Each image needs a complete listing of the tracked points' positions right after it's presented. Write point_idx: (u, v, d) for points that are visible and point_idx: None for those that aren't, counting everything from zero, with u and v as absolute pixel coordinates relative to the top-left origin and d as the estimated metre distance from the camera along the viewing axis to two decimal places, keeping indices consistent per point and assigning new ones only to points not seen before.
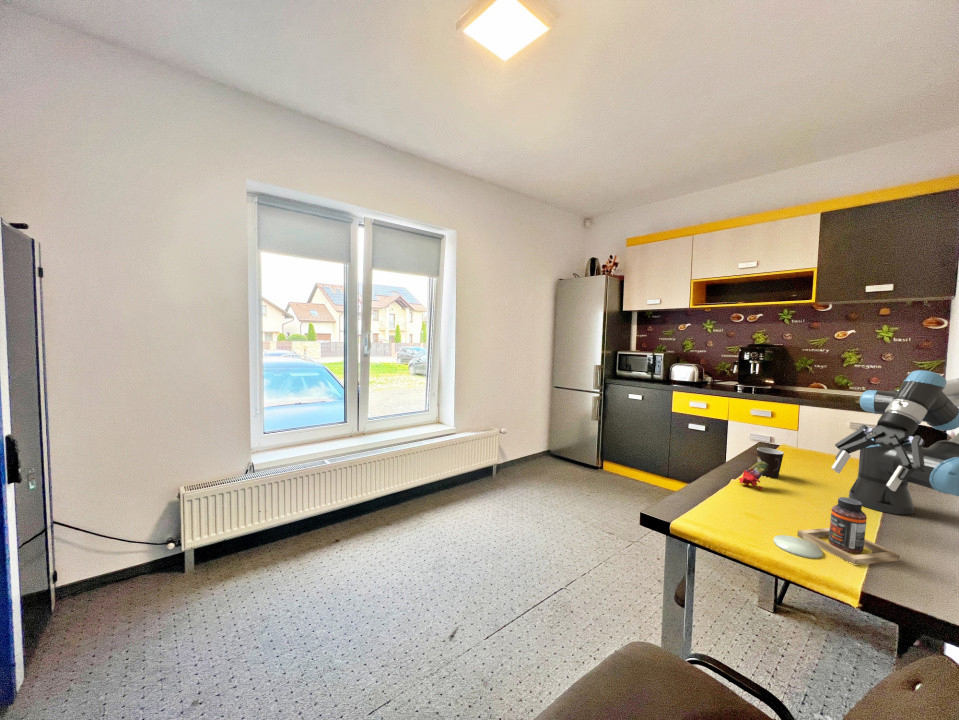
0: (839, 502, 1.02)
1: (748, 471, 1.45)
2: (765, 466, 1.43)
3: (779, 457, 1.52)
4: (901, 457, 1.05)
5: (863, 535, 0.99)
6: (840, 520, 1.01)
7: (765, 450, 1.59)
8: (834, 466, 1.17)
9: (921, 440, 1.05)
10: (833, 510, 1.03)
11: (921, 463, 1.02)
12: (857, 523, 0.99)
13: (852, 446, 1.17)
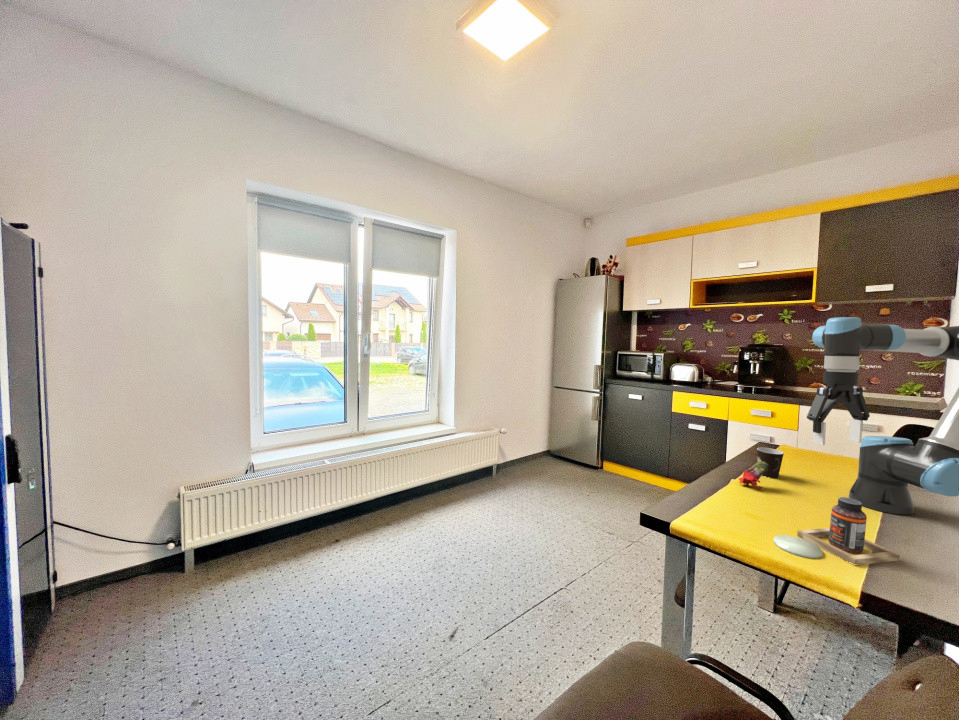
0: (839, 502, 1.02)
1: (748, 471, 1.45)
2: (765, 466, 1.43)
3: (779, 457, 1.52)
4: None
5: (863, 535, 0.99)
6: (840, 520, 1.01)
7: (765, 450, 1.59)
8: None
9: (820, 390, 1.12)
10: (833, 510, 1.03)
11: (811, 413, 1.12)
12: (857, 523, 0.99)
13: (849, 412, 1.16)
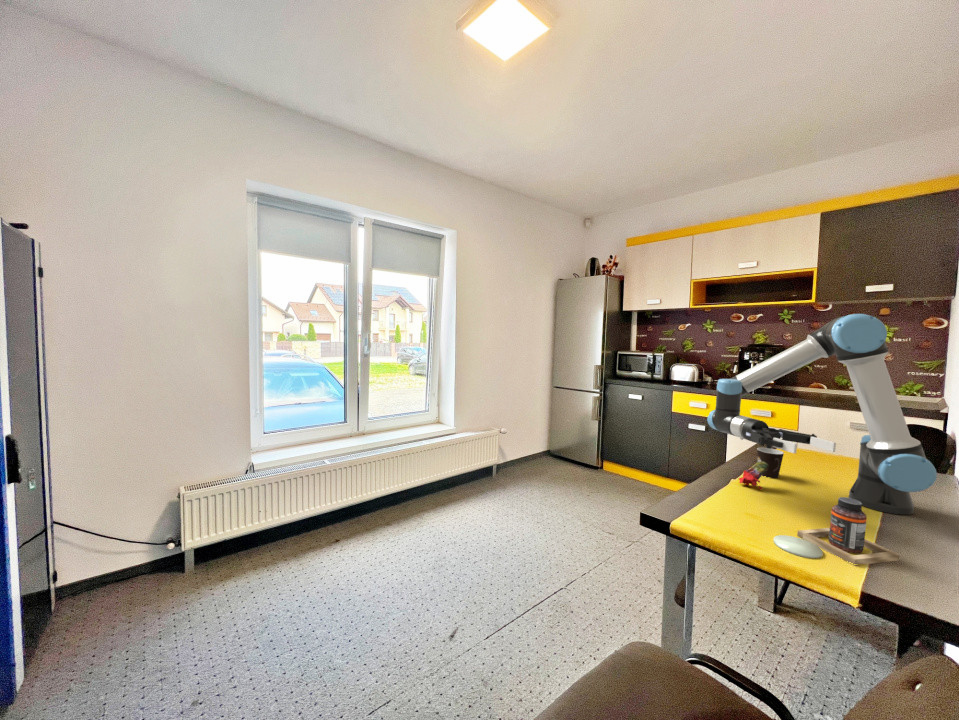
0: (839, 502, 1.02)
1: (748, 471, 1.45)
2: (765, 466, 1.43)
3: (779, 457, 1.52)
4: None
5: (863, 535, 0.99)
6: (840, 520, 1.01)
7: (765, 450, 1.59)
8: (831, 451, 1.13)
9: (747, 434, 1.25)
10: (833, 510, 1.03)
11: (758, 440, 1.18)
12: (857, 523, 0.99)
13: (801, 442, 1.20)
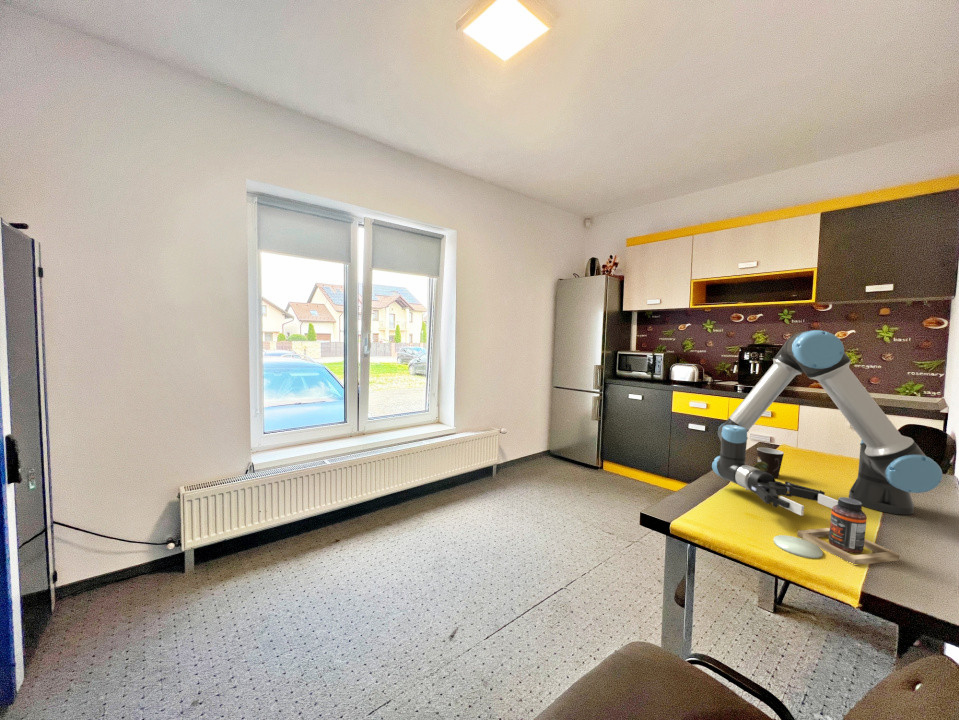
0: (839, 502, 1.02)
1: None
2: (765, 466, 1.43)
3: (779, 457, 1.52)
4: None
5: (863, 535, 0.99)
6: (840, 520, 1.01)
7: (765, 450, 1.59)
8: None
9: (752, 488, 1.22)
10: (833, 510, 1.03)
11: (764, 498, 1.15)
12: (857, 523, 0.99)
13: (809, 498, 1.17)
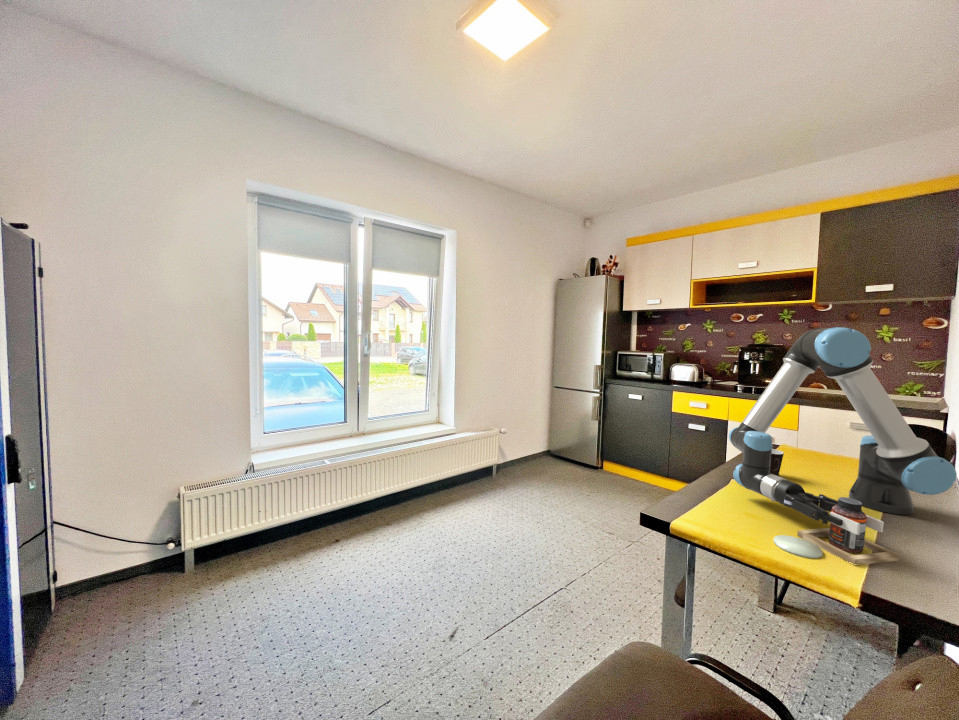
0: (839, 502, 1.02)
1: None
2: None
3: (779, 457, 1.52)
4: None
5: (863, 535, 0.99)
6: None
7: None
8: None
9: (786, 502, 1.12)
10: (833, 510, 1.03)
11: (810, 514, 1.05)
12: None
13: None
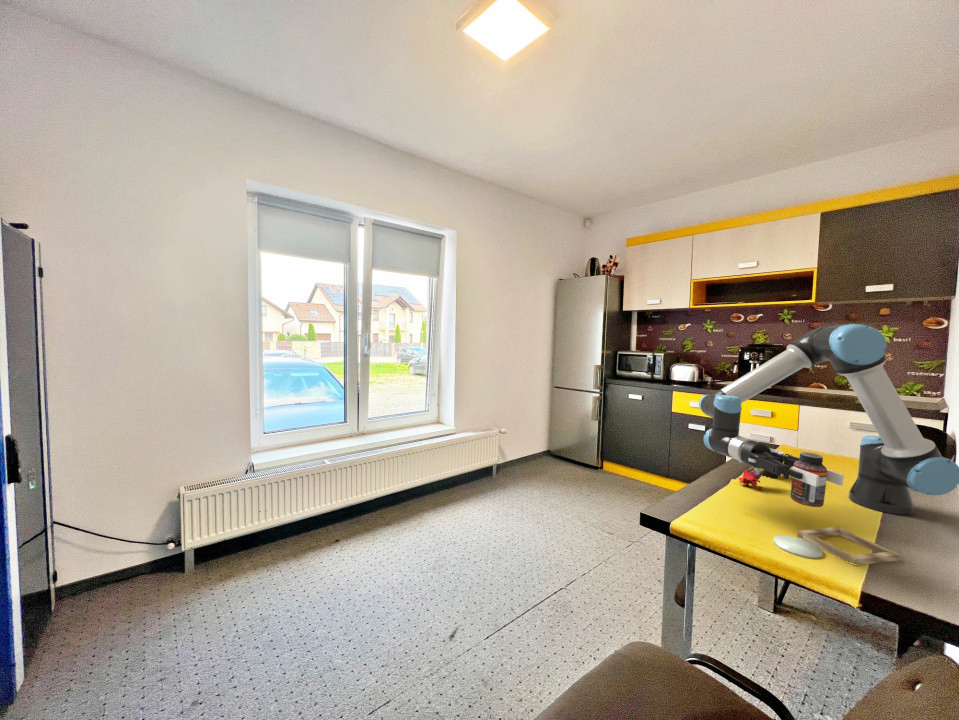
0: (800, 456, 1.02)
1: (748, 471, 1.45)
2: None
3: None
4: None
5: (823, 488, 0.99)
6: None
7: None
8: (837, 484, 0.98)
9: (750, 460, 1.11)
10: (795, 465, 1.02)
11: (772, 469, 1.04)
12: None
13: None
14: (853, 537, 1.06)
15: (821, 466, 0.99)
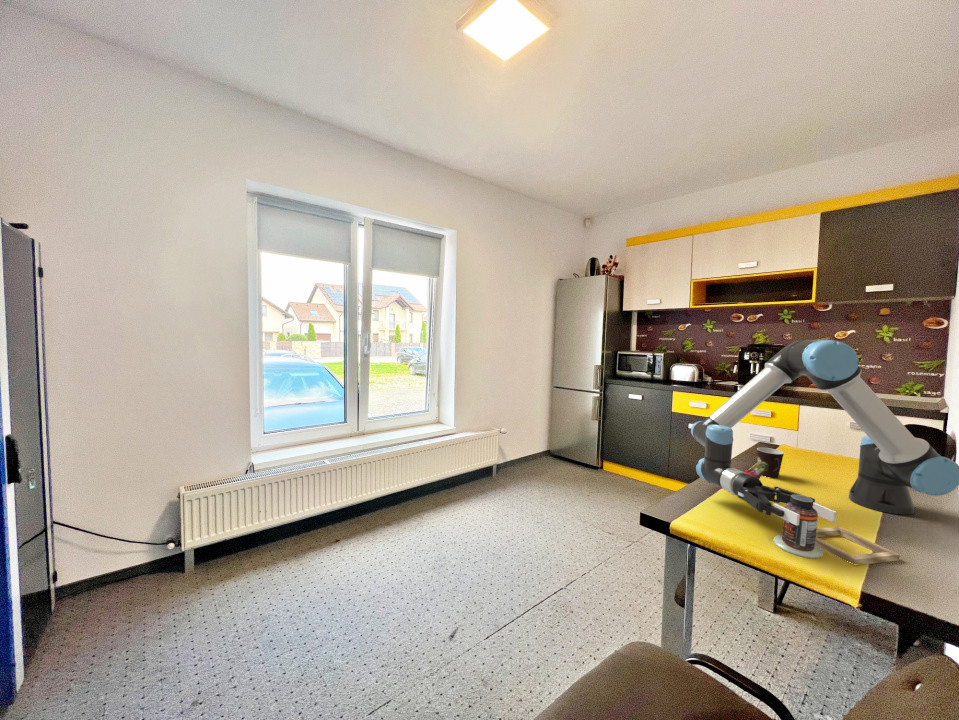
0: (791, 499, 1.02)
1: (748, 471, 1.45)
2: (765, 466, 1.43)
3: (779, 457, 1.52)
4: None
5: (814, 532, 0.99)
6: None
7: (765, 450, 1.59)
8: None
9: (739, 494, 1.12)
10: (785, 507, 1.02)
11: (755, 505, 1.05)
12: (807, 521, 0.98)
13: None
14: (853, 537, 1.06)
15: (812, 510, 0.99)
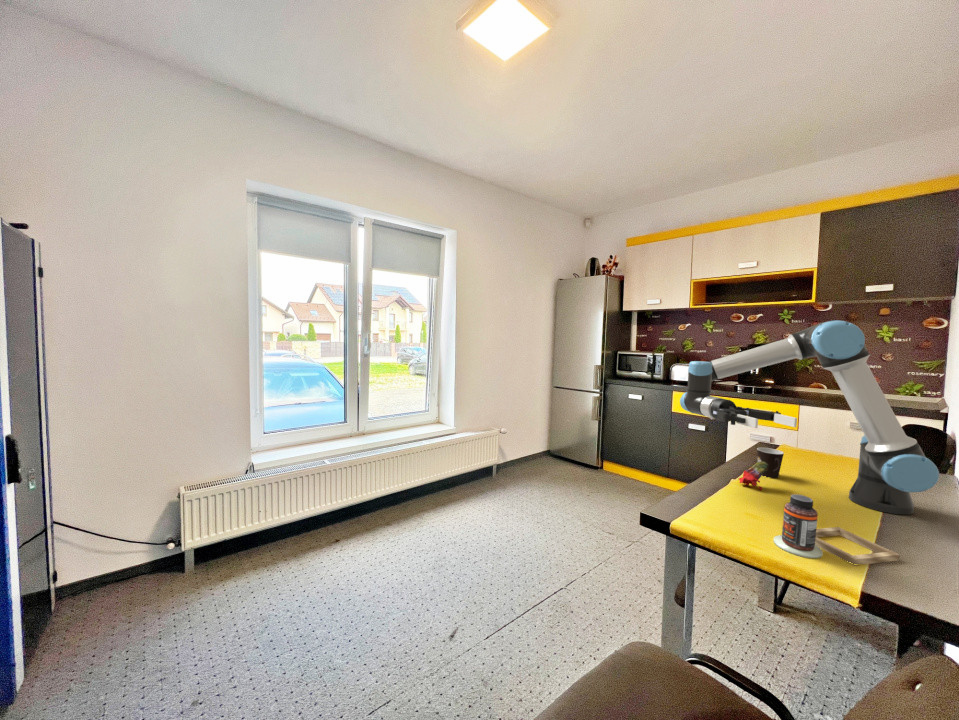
0: (791, 499, 1.02)
1: (748, 471, 1.45)
2: (765, 466, 1.43)
3: (779, 457, 1.52)
4: None
5: (814, 532, 0.99)
6: (791, 518, 1.01)
7: (765, 450, 1.59)
8: None
9: (714, 413, 1.28)
10: (785, 507, 1.03)
11: (723, 417, 1.21)
12: (807, 521, 0.98)
13: (766, 419, 1.23)
14: (853, 537, 1.06)
15: (811, 510, 0.99)
